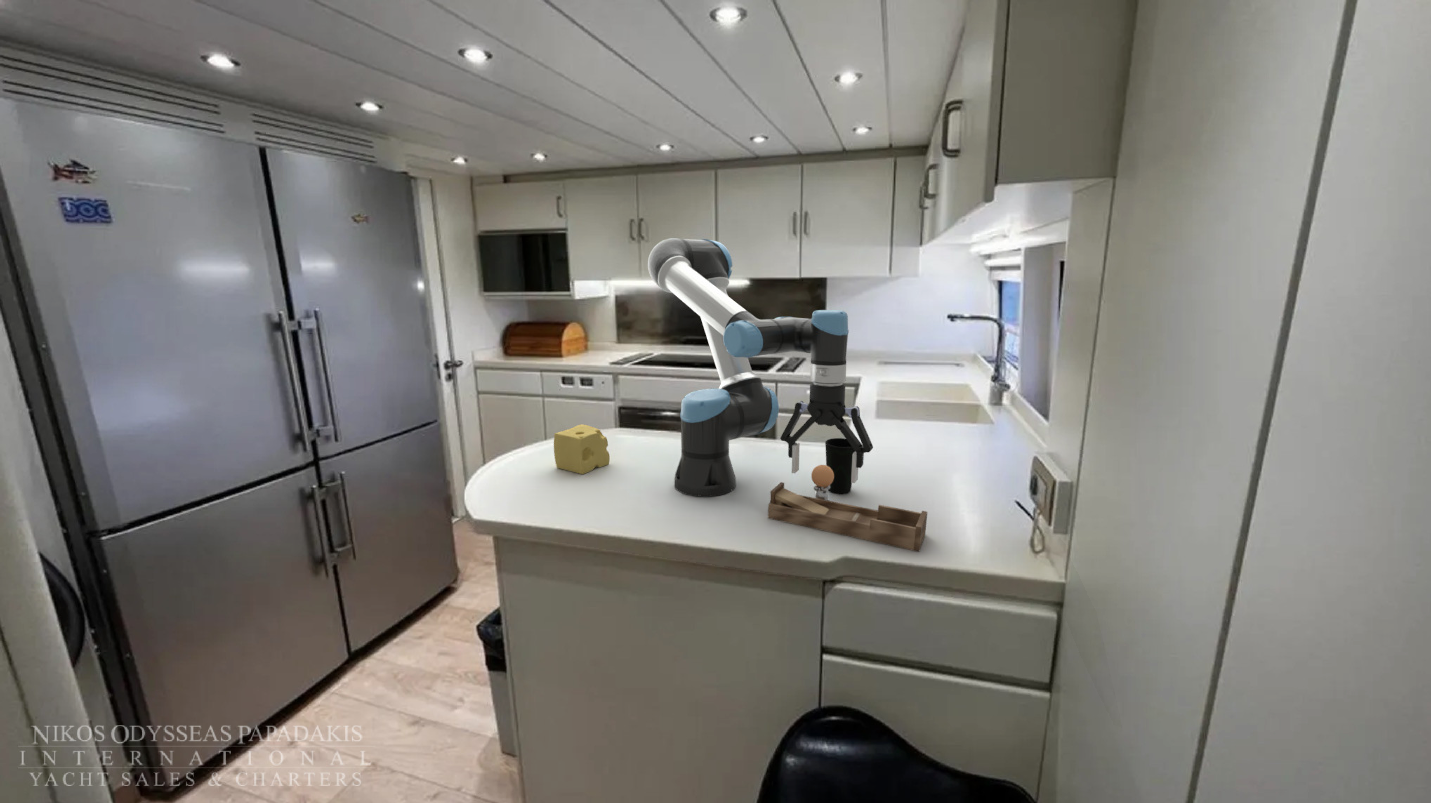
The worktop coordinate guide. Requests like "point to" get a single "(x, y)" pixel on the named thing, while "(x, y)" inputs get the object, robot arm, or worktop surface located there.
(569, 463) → the cheese
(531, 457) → the worktop surface
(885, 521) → the lane
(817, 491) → the silver knobbed handle
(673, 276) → the robot arm
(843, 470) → the cup
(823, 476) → the ball
